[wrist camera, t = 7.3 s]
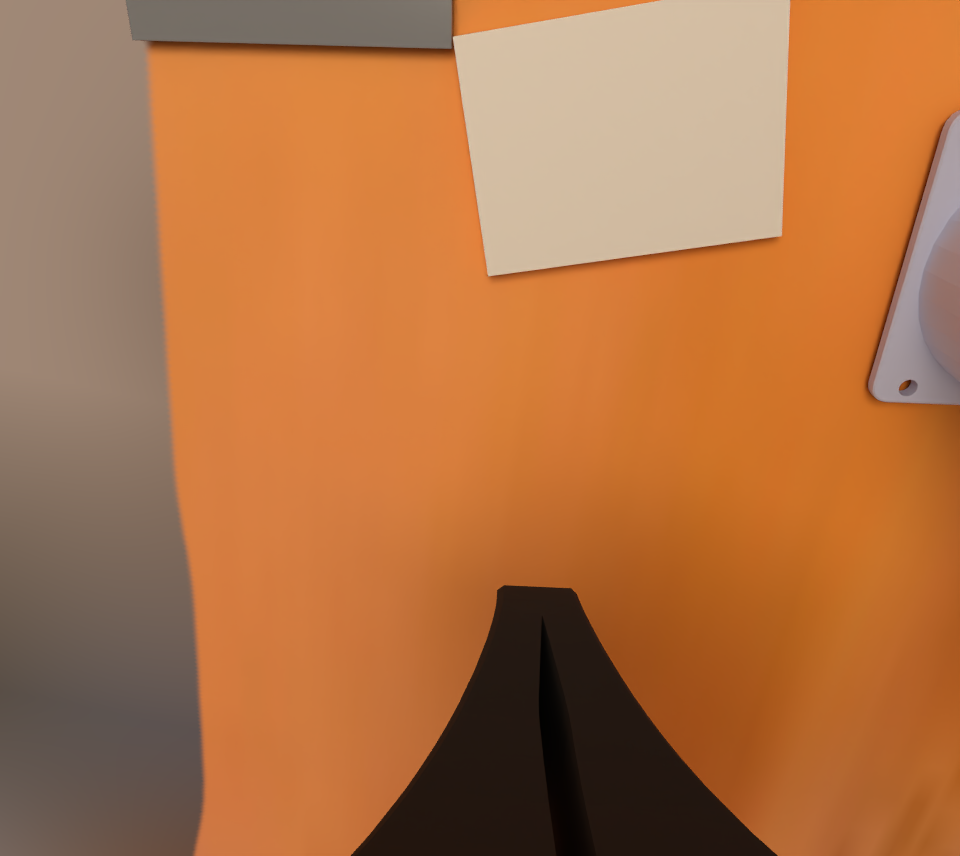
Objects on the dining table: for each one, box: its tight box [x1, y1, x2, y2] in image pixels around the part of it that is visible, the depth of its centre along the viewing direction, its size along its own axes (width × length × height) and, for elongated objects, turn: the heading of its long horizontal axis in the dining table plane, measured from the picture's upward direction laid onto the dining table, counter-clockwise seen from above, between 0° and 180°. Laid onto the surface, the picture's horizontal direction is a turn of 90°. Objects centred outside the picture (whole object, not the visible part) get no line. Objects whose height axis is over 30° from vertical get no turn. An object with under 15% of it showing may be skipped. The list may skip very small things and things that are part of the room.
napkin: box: [453, 0, 790, 276], centre depth 19 cm, size 8×6×1 cm
